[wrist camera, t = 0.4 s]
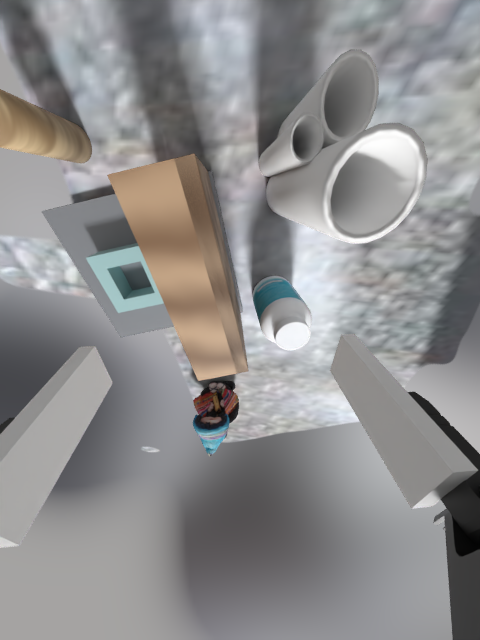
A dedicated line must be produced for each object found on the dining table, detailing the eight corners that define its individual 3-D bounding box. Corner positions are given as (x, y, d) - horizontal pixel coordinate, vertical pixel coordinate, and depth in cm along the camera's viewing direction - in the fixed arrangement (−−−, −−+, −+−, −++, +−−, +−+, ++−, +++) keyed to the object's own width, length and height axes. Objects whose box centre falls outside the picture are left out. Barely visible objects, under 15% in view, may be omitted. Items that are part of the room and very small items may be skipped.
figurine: (234, 371, 48) (237, 435, 36) (239, 391, 52) (244, 456, 39) (192, 378, 49) (180, 445, 36) (200, 398, 52) (193, 464, 40)
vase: (312, 210, 32) (415, 231, 15) (265, 221, 32) (313, 254, 15) (310, 109, 26) (478, -49, 9) (253, 124, 26) (309, -1, 9)
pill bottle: (244, 299, 39) (253, 344, 27) (268, 266, 36) (289, 301, 24) (275, 317, 41) (295, 365, 30) (300, 287, 38) (333, 328, 27)
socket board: (46, 210, 29) (20, 213, 26) (211, 171, 28) (210, 167, 25) (122, 334, 41) (112, 349, 37) (242, 309, 40) (244, 322, 36)
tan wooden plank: (162, 183, 29) (107, 174, 15) (208, 172, 28) (194, 153, 15) (206, 316, 40) (198, 380, 27) (239, 310, 40) (248, 371, 26)
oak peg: (48, 125, 25) (-112, 65, 13) (79, 117, 25) (-53, 49, 13) (69, 166, 27) (-52, 146, 15) (98, 159, 27) (-2, 133, 15)
